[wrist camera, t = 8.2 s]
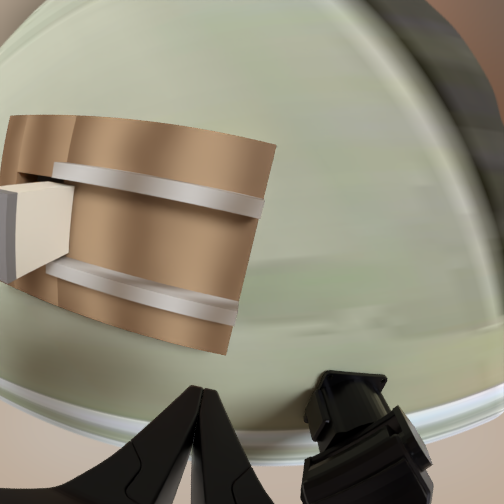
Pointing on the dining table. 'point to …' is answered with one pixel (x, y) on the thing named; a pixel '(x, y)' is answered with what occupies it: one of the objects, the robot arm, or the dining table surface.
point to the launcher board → (145, 221)
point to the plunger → (33, 226)
